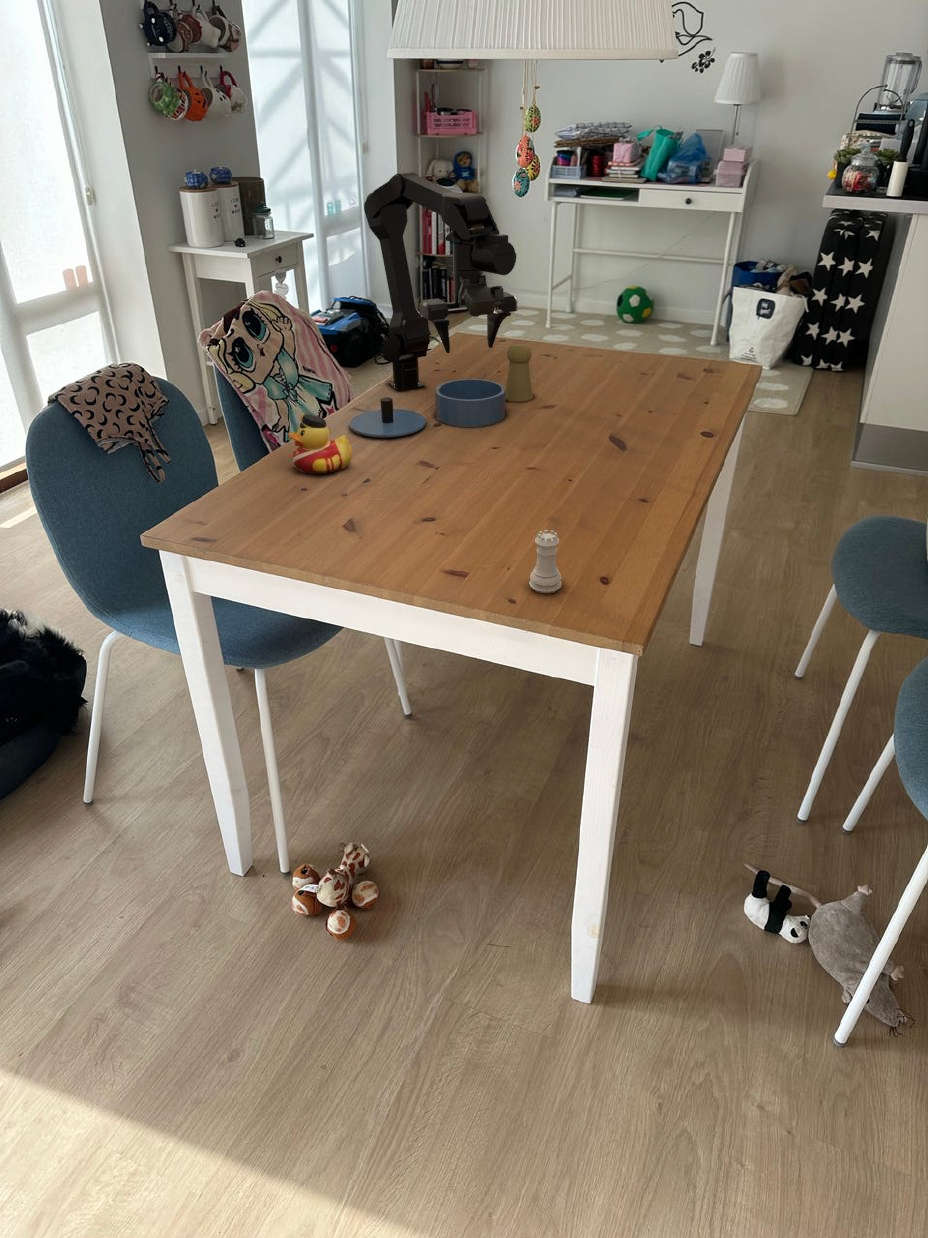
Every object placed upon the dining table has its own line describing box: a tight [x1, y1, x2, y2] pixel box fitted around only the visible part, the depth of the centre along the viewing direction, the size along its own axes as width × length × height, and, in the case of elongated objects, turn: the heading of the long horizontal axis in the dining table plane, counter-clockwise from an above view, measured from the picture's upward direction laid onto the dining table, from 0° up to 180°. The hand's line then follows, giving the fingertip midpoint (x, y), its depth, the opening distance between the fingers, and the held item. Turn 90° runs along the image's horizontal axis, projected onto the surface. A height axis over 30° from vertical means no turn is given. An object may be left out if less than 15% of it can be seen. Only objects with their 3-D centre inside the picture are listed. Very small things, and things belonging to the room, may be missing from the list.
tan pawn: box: [505, 343, 534, 403], centre depth 186 cm, size 6×6×11 cm
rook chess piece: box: [528, 529, 563, 594], centre depth 118 cm, size 4×4×8 cm
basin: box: [434, 378, 506, 428], centre depth 178 cm, size 14×14×5 cm
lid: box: [349, 396, 427, 438], centre depth 173 cm, size 15×15×6 cm
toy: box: [288, 413, 353, 475], centre depth 154 cm, size 9×11×10 cm
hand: (469, 350), depth 177 cm, fingers open, 9 cm apart
